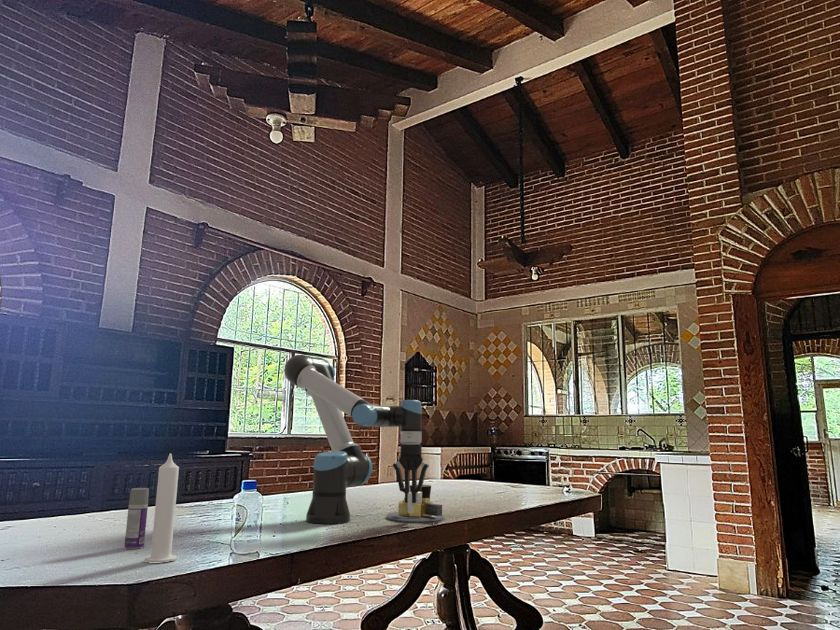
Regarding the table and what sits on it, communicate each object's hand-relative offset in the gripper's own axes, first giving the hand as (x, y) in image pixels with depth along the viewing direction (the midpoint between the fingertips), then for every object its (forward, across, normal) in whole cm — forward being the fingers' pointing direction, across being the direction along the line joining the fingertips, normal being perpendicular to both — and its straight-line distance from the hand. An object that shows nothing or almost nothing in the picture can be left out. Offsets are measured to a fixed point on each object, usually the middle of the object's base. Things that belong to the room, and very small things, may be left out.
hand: (410, 512), depth 206 cm
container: (+3, -59, -66) cm, 88 cm away
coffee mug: (+3, -3, +28) cm, 29 cm away
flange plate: (+3, 0, +10) cm, 10 cm away
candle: (+3, -43, -77) cm, 88 cm away
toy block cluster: (+2, +2, +8) cm, 8 cm away
